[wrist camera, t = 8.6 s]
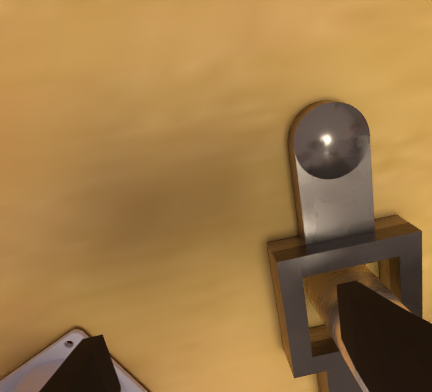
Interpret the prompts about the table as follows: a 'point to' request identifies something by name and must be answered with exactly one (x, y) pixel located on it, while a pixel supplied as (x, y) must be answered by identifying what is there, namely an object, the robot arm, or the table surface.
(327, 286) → the steel pin
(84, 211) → the table surface
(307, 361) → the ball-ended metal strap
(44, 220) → the table surface
